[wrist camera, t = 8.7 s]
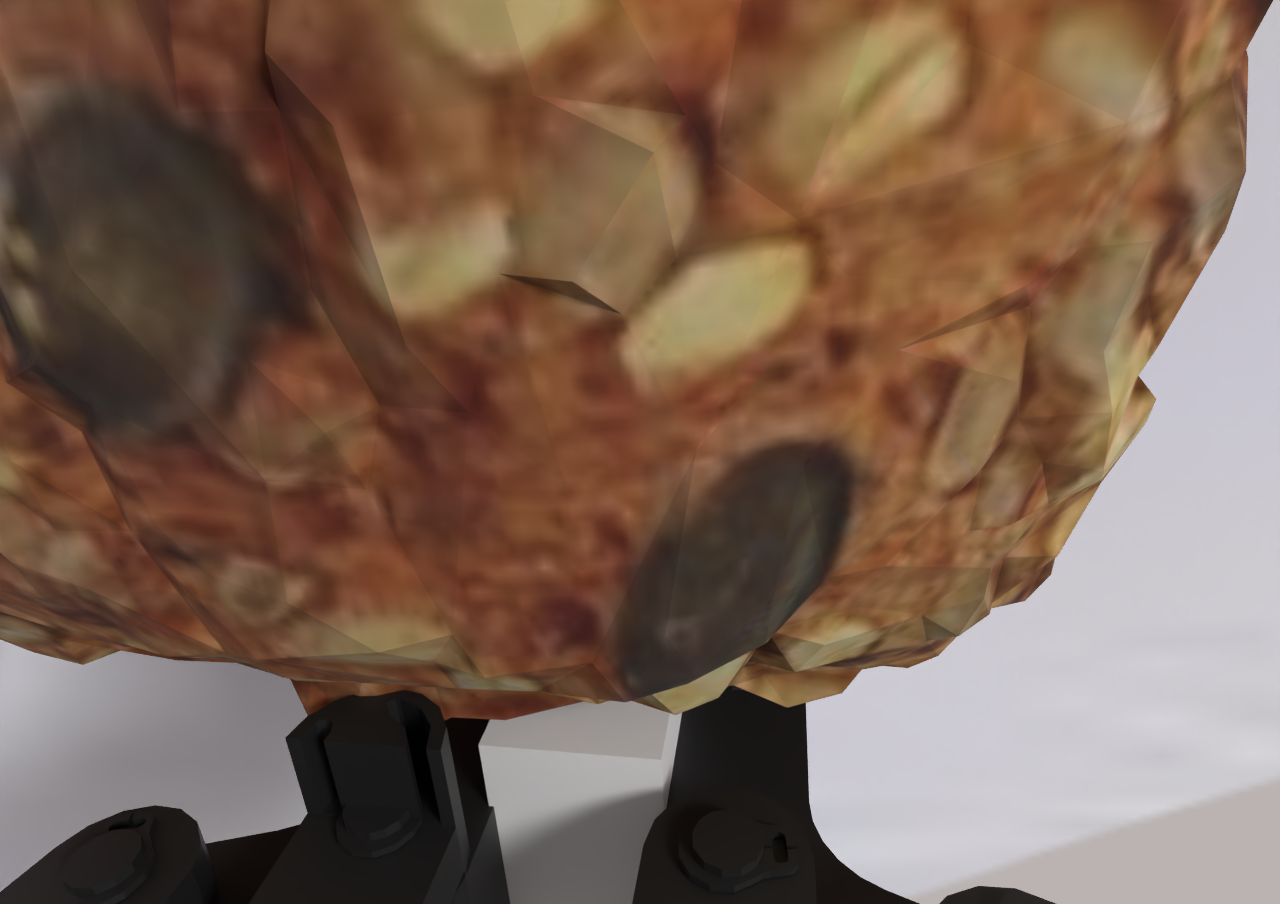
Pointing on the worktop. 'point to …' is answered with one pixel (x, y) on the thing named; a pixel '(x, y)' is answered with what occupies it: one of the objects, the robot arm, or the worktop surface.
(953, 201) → the bread
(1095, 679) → the worktop surface
